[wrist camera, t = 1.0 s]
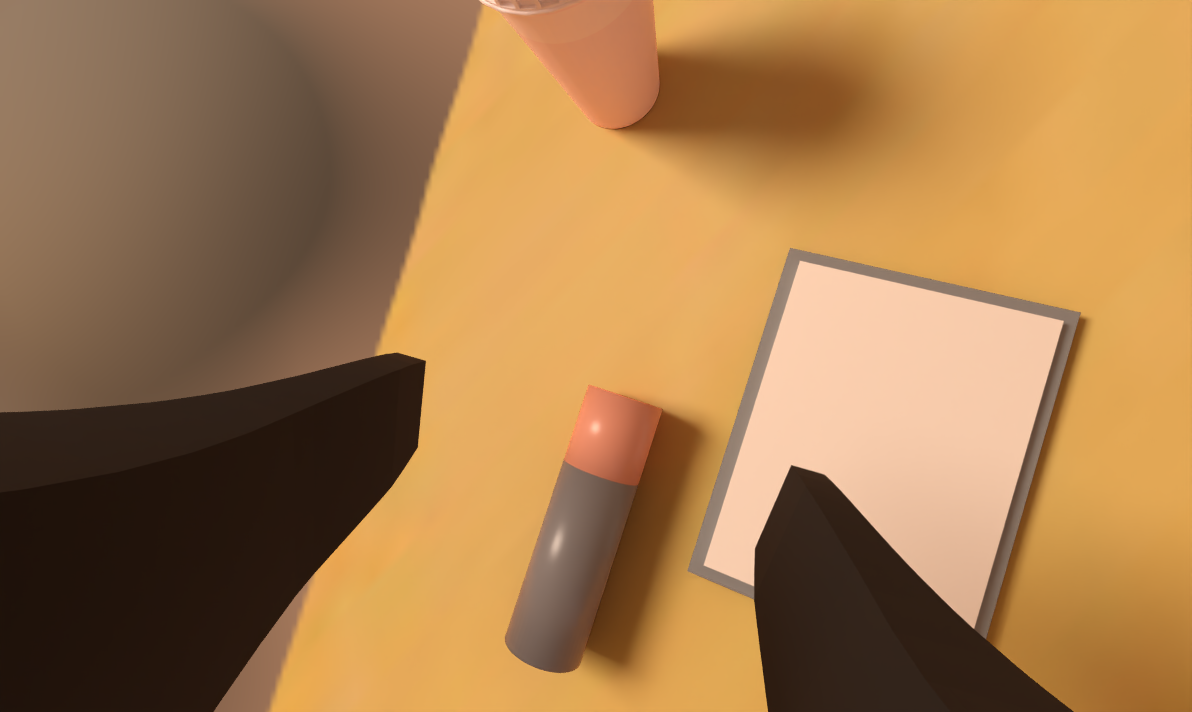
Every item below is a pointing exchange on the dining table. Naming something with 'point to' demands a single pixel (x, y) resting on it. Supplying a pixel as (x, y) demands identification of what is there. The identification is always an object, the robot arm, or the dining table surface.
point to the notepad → (894, 421)
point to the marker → (581, 531)
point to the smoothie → (593, 52)
